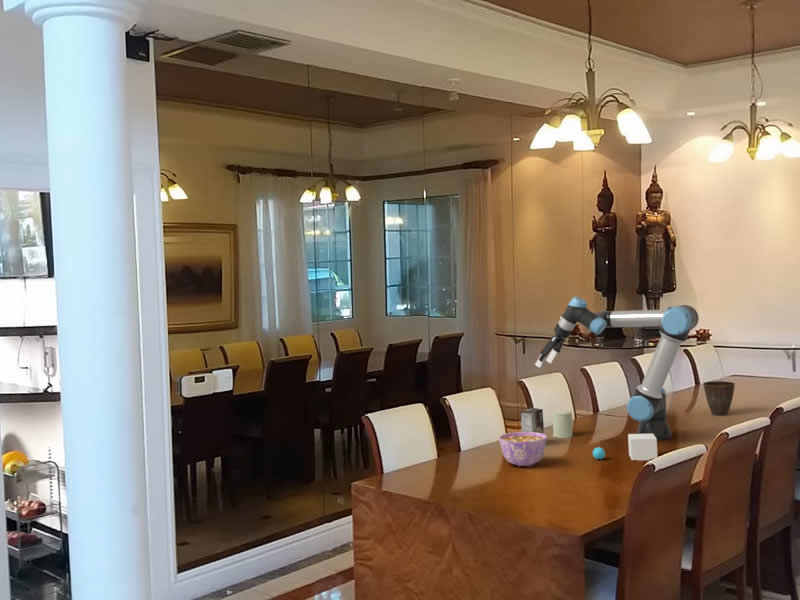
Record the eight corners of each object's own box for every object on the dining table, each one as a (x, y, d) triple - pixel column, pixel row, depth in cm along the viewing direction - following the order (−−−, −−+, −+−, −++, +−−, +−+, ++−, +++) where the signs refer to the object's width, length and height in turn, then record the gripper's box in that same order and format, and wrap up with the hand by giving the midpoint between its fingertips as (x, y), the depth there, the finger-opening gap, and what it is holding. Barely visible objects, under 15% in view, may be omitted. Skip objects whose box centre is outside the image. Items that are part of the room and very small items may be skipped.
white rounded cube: (653, 454, 340) (652, 433, 340) (657, 460, 330) (656, 438, 329) (628, 454, 342) (627, 434, 341) (631, 460, 331) (630, 439, 331)
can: (573, 438, 380) (571, 412, 379) (553, 438, 382) (551, 413, 381) (572, 433, 389) (571, 409, 388) (553, 434, 391) (552, 409, 390)
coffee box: (533, 441, 376) (531, 407, 375) (545, 443, 372) (543, 408, 371) (521, 445, 370) (519, 410, 369) (533, 447, 365) (531, 412, 364)
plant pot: (738, 412, 417) (737, 381, 416) (732, 417, 404) (731, 386, 403) (708, 411, 425) (706, 380, 424) (701, 416, 412) (700, 385, 411)
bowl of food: (518, 473, 322) (517, 444, 322) (490, 463, 340) (489, 436, 340) (558, 464, 332) (556, 437, 331) (529, 456, 349) (527, 429, 349)
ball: (604, 457, 339) (604, 446, 339) (605, 460, 334) (605, 448, 334) (592, 458, 340) (591, 446, 339) (593, 460, 335) (592, 448, 334)
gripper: (567, 320, 390) (546, 355, 398) (548, 325, 369) (526, 363, 377) (580, 328, 387) (559, 364, 395) (561, 334, 366) (539, 372, 374)
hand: (543, 364), depth 386 cm, fingers open, 13 cm apart
